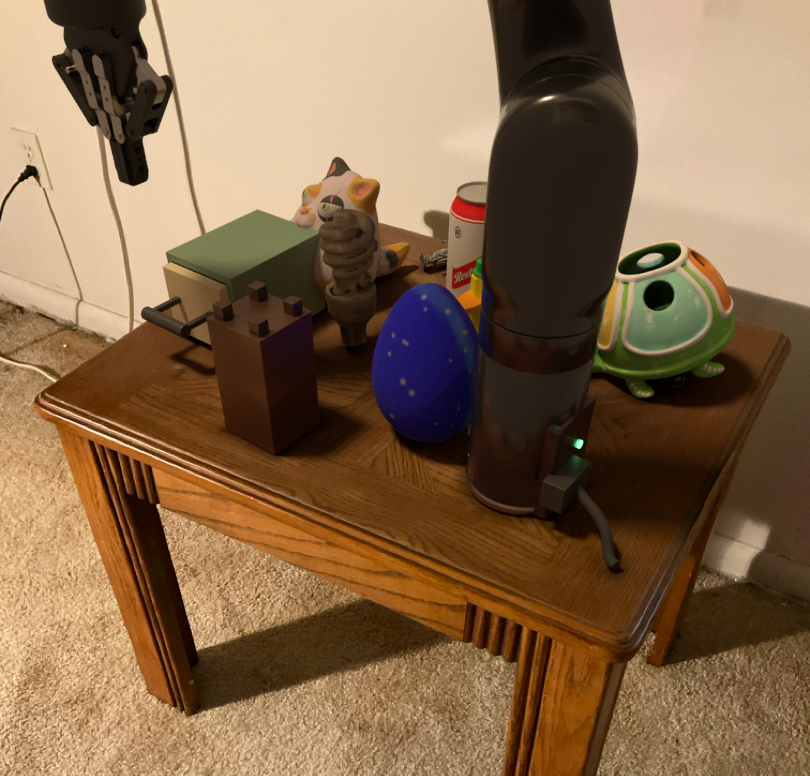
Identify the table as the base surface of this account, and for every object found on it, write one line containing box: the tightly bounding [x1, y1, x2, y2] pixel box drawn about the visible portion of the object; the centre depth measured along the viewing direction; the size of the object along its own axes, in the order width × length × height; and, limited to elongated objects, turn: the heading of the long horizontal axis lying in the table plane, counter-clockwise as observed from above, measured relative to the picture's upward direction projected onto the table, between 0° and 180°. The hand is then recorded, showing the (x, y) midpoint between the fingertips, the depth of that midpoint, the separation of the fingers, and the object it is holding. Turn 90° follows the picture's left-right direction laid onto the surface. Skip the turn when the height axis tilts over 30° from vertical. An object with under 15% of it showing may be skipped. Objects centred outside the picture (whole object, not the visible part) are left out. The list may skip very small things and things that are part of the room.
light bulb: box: [318, 209, 377, 351], centre depth 84 cm, size 6×6×15 cm
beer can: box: [445, 180, 487, 319], centre depth 85 cm, size 6×6×16 cm
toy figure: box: [456, 259, 482, 333], centre depth 82 cm, size 7×4×12 cm, turn 137°
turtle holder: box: [592, 238, 736, 399], centre depth 82 cm, size 12×18×12 cm
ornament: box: [371, 282, 478, 443], centre depth 74 cm, size 11×9×15 cm
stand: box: [206, 281, 321, 456], centre depth 74 cm, size 6×6×13 cm
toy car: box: [649, 370, 690, 391], centre depth 86 cm, size 8×3×2 cm, turn 151°
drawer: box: [140, 262, 230, 346], centre depth 88 cm, size 17×8×7 cm, turn 143°
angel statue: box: [418, 239, 448, 269], centre depth 103 cm, size 4×8×4 cm
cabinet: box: [165, 208, 327, 317], centre depth 90 cm, size 14×10×9 cm
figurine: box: [289, 156, 411, 302], centre depth 95 cm, size 12×17×15 cm
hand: (134, 181), depth 73 cm, fingers closed
